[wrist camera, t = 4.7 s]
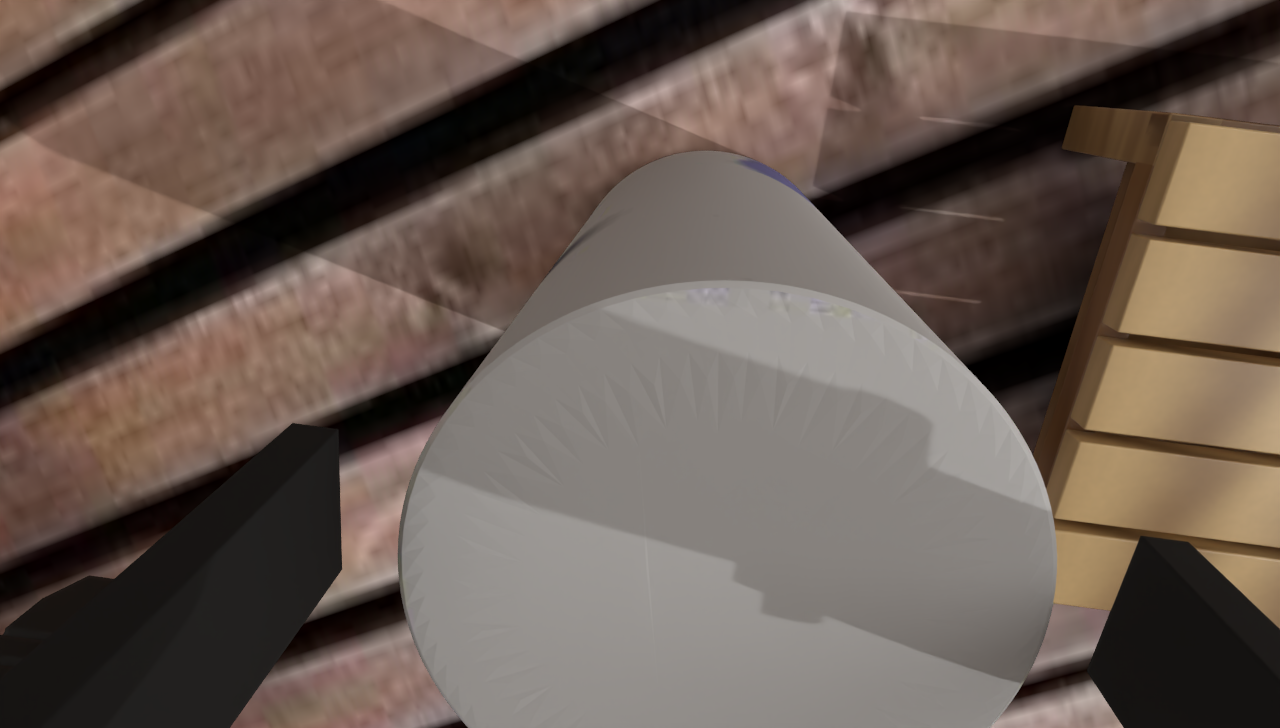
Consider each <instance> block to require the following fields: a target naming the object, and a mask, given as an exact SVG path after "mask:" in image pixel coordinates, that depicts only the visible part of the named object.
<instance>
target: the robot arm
mask: <svg viewBox="0 0 1280 728" xmlns="http://www.w3.org/2000/svg"><path fill="white" fill-rule="evenodd" d="M341 570H342V551H341V513H340V475H339V438H338V429H332V428H325V427H317V426H310V425H302V424H295V423H292V424H291V425H290V426H289V427H288V428H287V429H285V430H284V431H283V432H282V433H281V434H280V435H279V436H277V437H276V438H275V439H274V440H273V441H272V442H271V443H269V444H268V445H267V446H266V447H265V448H264V449H263V450H261V451H260V452H259V453H258V454H257V455H256V456H254V457H253V458H252V459H251V460H250V461H249V462H248V463H246V464H245V465H244V466H243V467H242V468H241V469H240V470H238V471H237V472H236V473H235V474H234V475H233V476H232V477H230V478H229V479H228V480H227V481H226V482H225V483H224V484H222V485H221V486H220V487H219V488H218V489H217V490H216V491H214V492H213V493H212V494H211V495H210V496H209V497H208V498H206V499H205V500H204V501H203V502H202V503H201V504H200V505H198V506H197V507H196V508H195V509H194V510H193V511H192V512H190V513H189V514H188V515H187V516H186V517H185V518H184V519H182V520H181V521H180V522H179V523H178V524H177V525H176V526H174V527H173V528H172V529H171V530H170V531H169V532H168V533H166V534H165V535H164V536H163V537H162V538H161V539H160V540H158V541H157V542H156V543H155V544H154V545H153V546H152V547H150V548H149V549H148V550H147V551H146V552H145V553H144V554H142V555H141V556H140V557H139V558H138V559H137V560H136V561H134V562H133V563H132V564H131V565H130V566H129V567H128V568H126V569H125V570H124V571H123V572H122V573H121V574H120V575H118V576H117V577H116V578H115V579H110V578H103V577H96V576H87V577H85V578H83V579H81V580H79V581H77V582H75V583H73V584H71V585H69V586H67V587H65V588H63V589H61V590H59V591H57V592H55V593H53V594H51V595H49V596H47V597H45V598H43V599H41V600H40V601H39V602H38V603H36V604H35V605H34V606H33V607H31V608H30V609H29V610H28V611H26V612H25V613H24V614H23V615H21V616H20V617H19V618H18V619H17V620H15V621H14V622H13V623H12V624H10V625H9V626H8V627H7V628H5V632H4V634H3V635H0V728H230V727H231V725H232V724H233V722H234V721H235V720H236V718H237V717H238V715H239V714H240V713H241V711H242V710H243V708H244V707H245V705H246V704H247V703H248V701H249V700H250V698H251V697H252V696H253V694H254V693H255V691H256V690H257V689H258V687H259V686H260V684H261V683H262V681H263V680H264V679H265V677H266V676H267V674H268V673H269V672H270V670H271V669H272V667H273V666H274V665H275V663H276V662H277V660H278V659H279V658H280V656H281V655H282V653H283V652H284V650H285V649H286V648H287V646H288V645H289V643H290V642H291V641H292V639H293V638H294V636H295V635H296V634H297V632H298V631H299V629H300V628H301V626H302V625H303V624H304V622H305V621H306V619H307V618H308V617H309V615H310V614H311V612H312V611H313V610H314V608H315V607H316V605H317V604H318V602H319V601H320V600H321V598H322V597H323V595H324V594H325V593H326V591H327V590H328V588H329V587H330V586H331V584H332V583H333V581H334V580H335V579H336V577H337V576H338V574H339V573H340V571H341ZM1087 672H1088V674H1089V675H1090V677H1091V678H1092V680H1093V681H1094V683H1095V684H1096V686H1097V687H1098V689H1099V690H1100V692H1101V693H1102V695H1103V697H1104V698H1105V700H1106V701H1107V703H1108V704H1109V706H1110V707H1111V709H1112V710H1113V712H1114V713H1115V715H1116V716H1117V718H1118V720H1119V721H1120V723H1121V724H1122V726H1123V727H1124V728H1280V629H1279V628H1278V627H1277V626H1276V625H1275V624H1274V623H1273V622H1272V621H1271V620H1270V619H1269V618H1268V617H1267V616H1266V615H1265V614H1264V613H1263V612H1262V611H1260V610H1259V609H1258V608H1257V607H1256V606H1255V605H1254V604H1253V603H1252V602H1251V601H1250V600H1249V599H1248V598H1247V597H1246V596H1245V595H1244V594H1243V593H1242V592H1241V591H1240V590H1238V589H1237V588H1236V587H1235V586H1234V585H1233V584H1232V583H1231V582H1230V581H1229V580H1228V579H1227V578H1226V577H1225V576H1224V575H1223V574H1222V573H1221V572H1220V571H1219V570H1218V569H1216V568H1215V567H1214V566H1213V565H1212V564H1211V563H1210V562H1209V561H1208V560H1207V559H1206V558H1205V557H1204V556H1203V555H1202V554H1201V553H1200V552H1199V551H1198V550H1197V549H1195V548H1194V547H1193V546H1192V545H1191V544H1190V543H1189V542H1185V541H1178V540H1170V539H1163V538H1155V537H1148V536H1140V538H1139V541H1138V544H1137V546H1136V549H1135V551H1134V554H1133V556H1132V559H1131V561H1130V564H1129V566H1128V569H1127V571H1126V574H1125V576H1124V579H1123V581H1122V584H1121V586H1120V589H1119V591H1118V594H1117V596H1116V599H1115V601H1114V604H1113V606H1112V609H1111V611H1110V614H1109V616H1108V619H1107V621H1106V624H1105V626H1104V629H1103V631H1102V634H1101V636H1100V639H1099V642H1098V644H1097V647H1096V649H1095V652H1094V654H1093V657H1092V659H1091V662H1090V664H1089V667H1088V669H1087Z"/></svg>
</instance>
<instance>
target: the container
mask: <svg viewBox="0 0 1280 728" xmlns="http://www.w3.org/2000/svg"><path fill="white" fill-rule="evenodd" d="M398 572H399V583H400V590H401V596H402V601H403V607H404V611H405V615H406V619H407V622H408V626H409V629H410V631H411V634H412V637H413V640H414V643H415V645H416V647H417V650H418V652H419V655H420V657H421V659H422V661H423V663H424V665H425V667H426V669H427V671H428V673H429V674H430V676H431V678H432V680H433V681H434V683H435V685H436V686H437V688H438V689H439V691H440V692H441V694H442V695H443V697H444V698H445V700H446V701H447V703H448V704H449V705H450V706H451V708H452V709H453V710H454V712H455V713H456V714H457V715H458V716H459V718H460V719H461V720H462V721H463V722H464V724H465V725H466V726H467V727H468V728H990V727H991V726H992V725H993V724H994V723H995V722H996V720H997V719H998V718H999V717H1000V716H1001V714H1002V713H1003V712H1004V710H1005V709H1006V708H1007V707H1008V705H1009V704H1010V702H1011V701H1012V700H1013V698H1014V697H1015V695H1016V694H1017V692H1018V691H1019V689H1020V687H1021V686H1022V684H1023V682H1024V681H1025V679H1026V677H1027V675H1028V673H1029V671H1030V669H1031V668H1032V666H1033V664H1034V661H1035V659H1036V657H1037V655H1038V652H1039V650H1040V647H1041V645H1042V642H1043V639H1044V636H1045V633H1046V630H1047V627H1048V623H1049V619H1050V616H1051V611H1052V606H1053V601H1054V595H1055V588H1056V576H1057V544H1056V533H1055V526H1054V520H1053V515H1052V510H1051V505H1050V502H1049V498H1048V494H1047V491H1046V488H1045V485H1044V482H1043V479H1042V476H1041V474H1040V471H1039V469H1038V466H1037V464H1036V462H1035V459H1034V457H1033V455H1032V453H1031V451H1030V449H1029V447H1028V445H1027V444H1026V442H1025V440H1024V438H1023V437H1022V435H1021V433H1020V431H1019V430H1018V428H1017V427H1016V425H1015V424H1014V422H1013V421H1012V419H1011V418H1010V416H1009V415H1008V414H1007V412H1006V411H1005V410H1004V408H1003V407H1002V406H1001V405H1000V403H999V402H998V401H997V400H996V398H995V397H994V396H993V395H992V394H991V393H990V392H989V391H988V389H987V388H986V387H985V386H984V385H983V384H982V383H981V382H980V381H979V380H978V379H977V378H976V377H975V376H974V375H973V374H972V372H971V371H970V370H969V369H968V368H967V367H966V366H965V365H964V364H963V363H962V362H961V361H960V360H959V359H958V358H957V357H956V355H955V354H954V353H953V352H952V351H951V350H950V349H949V348H948V347H947V346H946V345H945V344H944V343H943V342H942V341H941V340H940V339H939V337H938V336H937V335H936V334H935V333H934V332H933V331H932V330H931V329H930V328H929V327H928V326H927V325H926V324H925V323H924V322H923V321H922V319H921V318H920V317H919V316H918V315H917V314H916V313H915V312H914V311H913V310H912V309H911V308H910V307H909V306H908V305H907V304H906V303H905V301H904V300H903V299H902V298H901V297H900V296H899V295H898V294H897V293H896V292H895V291H894V290H893V289H892V288H891V287H890V286H889V285H888V283H887V282H886V281H885V280H884V279H883V278H882V277H881V276H880V275H879V274H878V273H877V272H876V271H875V270H874V269H873V268H872V267H871V265H870V264H869V263H868V262H867V261H866V260H865V259H864V258H863V257H862V256H861V255H860V254H859V253H858V252H857V251H856V250H855V249H854V247H853V246H852V245H851V244H850V243H849V242H848V241H847V240H846V239H845V238H844V237H843V236H842V235H841V234H840V233H839V232H838V231H837V229H836V228H835V227H834V226H833V225H832V224H831V223H830V222H829V221H828V220H827V219H826V218H825V217H824V216H823V215H822V214H821V213H820V211H819V210H818V209H817V208H816V207H815V206H814V205H813V204H812V203H811V202H810V201H809V200H808V199H807V198H806V197H805V196H804V195H803V193H802V192H801V191H800V190H799V189H798V188H797V187H796V186H795V185H794V184H792V183H791V182H790V181H789V180H788V179H787V178H785V177H784V176H783V175H781V174H780V173H778V172H777V171H775V170H774V169H772V168H770V167H768V166H766V165H764V164H762V163H760V162H758V161H756V160H753V159H751V158H748V157H744V156H741V155H737V154H733V153H728V152H720V151H691V152H684V153H678V154H674V155H670V156H667V157H664V158H661V159H658V160H656V161H653V162H651V163H649V164H647V165H645V166H643V167H641V168H639V169H637V170H636V171H634V172H633V173H631V174H630V175H628V176H627V177H626V178H624V179H623V180H622V181H620V182H619V183H618V184H617V185H616V186H615V187H614V188H613V189H612V190H611V191H610V192H609V193H608V194H607V195H606V196H605V197H604V199H603V200H602V201H601V202H600V204H599V205H598V206H597V208H596V209H595V210H594V212H593V213H592V215H591V216H590V217H589V219H588V220H587V222H586V223H585V224H584V225H583V227H582V228H581V229H580V231H579V232H578V234H577V235H576V236H575V238H574V239H573V240H572V242H571V243H570V244H569V246H568V247H567V248H566V250H565V251H564V252H563V254H562V255H561V257H560V258H559V259H558V261H557V262H556V263H555V265H554V266H553V267H552V269H551V270H550V271H549V273H548V274H547V276H546V277H545V278H544V280H543V281H542V282H541V284H540V285H539V286H538V288H537V289H536V290H535V292H534V293H533V294H532V296H531V297H530V299H529V300H528V301H527V303H526V304H525V305H524V307H523V308H522V309H521V311H520V312H519V313H518V315H517V316H516V317H515V319H514V320H513V322H512V323H511V324H510V326H509V327H508V328H507V330H506V331H505V332H504V334H503V335H502V336H501V338H500V339H499V341H498V342H497V343H496V345H495V346H494V347H493V349H492V350H491V351H490V353H489V354H488V355H487V357H486V358H485V359H484V361H483V362H482V364H481V365H480V366H479V368H478V369H477V370H476V372H475V373H474V374H473V376H472V377H471V378H470V380H469V381H468V383H467V384H466V385H465V387H464V388H463V389H462V391H461V392H460V393H459V395H458V396H457V397H456V399H455V400H454V401H453V403H452V404H451V406H450V407H449V408H448V410H447V411H446V412H445V414H444V415H443V417H442V418H441V419H440V421H439V422H438V424H437V426H436V427H435V429H434V430H433V432H432V434H431V436H430V437H429V439H428V441H427V443H426V445H425V447H424V449H423V451H422V453H421V455H420V457H419V459H418V462H417V464H416V466H415V469H414V472H413V474H412V477H411V480H410V483H409V486H408V490H407V493H406V496H405V501H404V505H403V510H402V515H401V521H400V529H399V539H398Z"/></svg>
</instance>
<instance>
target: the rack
mask: <svg viewBox="0 0 1280 728" xmlns="http://www.w3.org/2000/svg"><path fill="white" fill-rule="evenodd" d="M1062 149H1064V150H1069V151H1074V152H1079V153H1084V154H1089V155H1095V156H1100V157H1105V158H1110V159H1115V160H1120V161H1125V162H1127V165H1126V168H1125V171H1124V174H1123V177H1122V180H1121V183H1120V186H1119V189H1118V193H1117V196H1116V199H1115V202H1114V205H1113V208H1112V211H1111V214H1110V217H1109V220H1108V223H1107V227H1106V230H1105V233H1104V236H1103V239H1102V242H1101V245H1100V248H1099V251H1098V254H1097V258H1096V261H1095V264H1094V267H1093V270H1092V273H1091V276H1090V279H1089V282H1088V285H1087V289H1086V292H1085V295H1084V298H1083V301H1082V304H1081V307H1080V310H1079V313H1078V316H1077V320H1076V323H1075V326H1074V329H1073V332H1072V335H1071V338H1070V341H1069V344H1068V347H1067V350H1066V354H1065V357H1064V360H1063V363H1062V366H1061V369H1060V372H1059V375H1058V378H1057V381H1056V385H1055V388H1054V391H1053V394H1052V397H1051V400H1050V403H1049V406H1048V409H1047V412H1046V416H1045V419H1044V422H1043V425H1042V428H1041V431H1040V434H1039V437H1038V440H1037V443H1036V446H1035V450H1034V453H1033V457H1034V459H1035V462H1036V464H1037V466H1038V469H1039V471H1040V474H1041V476H1042V479H1043V482H1044V485H1045V488H1046V491H1047V494H1048V498H1049V502H1050V505H1051V510H1052V515H1053V520H1054V526H1055V533H1056V544H1057V576H1056V588H1055V595H1054V601H1053V603H1056V604H1063V605H1071V606H1078V607H1086V608H1093V609H1101V610H1108V611H1111V609H1112V606H1113V604H1114V601H1115V599H1116V596H1117V594H1118V591H1119V589H1120V586H1121V584H1122V581H1123V579H1124V576H1125V574H1126V571H1127V569H1128V566H1129V564H1130V561H1131V559H1132V556H1133V554H1134V551H1135V549H1136V546H1137V544H1138V541H1139V538H1140V536H1148V537H1155V538H1163V539H1170V540H1178V541H1185V542H1189V543H1190V544H1191V545H1192V546H1193V547H1194V548H1195V549H1197V550H1198V551H1199V552H1200V553H1201V554H1202V555H1203V556H1204V557H1205V558H1206V559H1207V560H1208V561H1209V562H1210V563H1211V564H1212V565H1213V566H1214V567H1215V568H1216V569H1218V570H1219V571H1220V572H1221V573H1222V574H1223V575H1224V576H1225V577H1226V578H1227V579H1228V580H1229V581H1230V582H1231V583H1232V584H1233V585H1234V586H1235V587H1236V588H1237V589H1238V590H1240V591H1241V592H1242V593H1243V594H1244V595H1245V596H1246V597H1247V598H1248V599H1249V600H1250V601H1251V602H1252V603H1253V604H1254V605H1255V606H1256V607H1257V608H1258V609H1259V610H1260V611H1262V612H1263V613H1264V614H1265V615H1266V616H1267V617H1268V618H1269V619H1270V620H1271V621H1272V622H1273V623H1274V624H1275V625H1276V626H1277V627H1278V628H1279V629H1280V126H1278V125H1269V124H1261V123H1253V122H1245V121H1236V120H1228V119H1220V118H1211V117H1203V116H1195V115H1187V114H1178V113H1169V112H1156V111H1143V110H1129V109H1116V108H1103V107H1090V106H1074V108H1073V111H1072V114H1071V118H1070V121H1069V125H1068V128H1067V131H1066V135H1065V138H1064V142H1063V145H1062Z"/></svg>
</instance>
